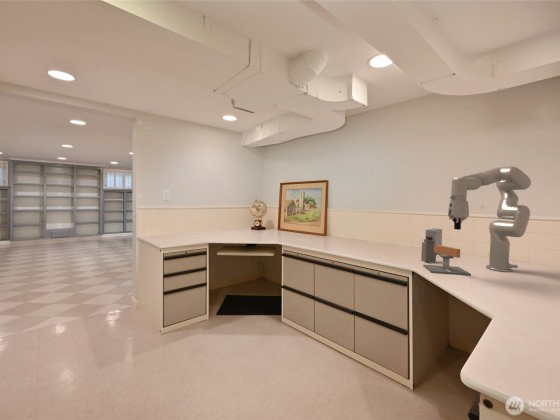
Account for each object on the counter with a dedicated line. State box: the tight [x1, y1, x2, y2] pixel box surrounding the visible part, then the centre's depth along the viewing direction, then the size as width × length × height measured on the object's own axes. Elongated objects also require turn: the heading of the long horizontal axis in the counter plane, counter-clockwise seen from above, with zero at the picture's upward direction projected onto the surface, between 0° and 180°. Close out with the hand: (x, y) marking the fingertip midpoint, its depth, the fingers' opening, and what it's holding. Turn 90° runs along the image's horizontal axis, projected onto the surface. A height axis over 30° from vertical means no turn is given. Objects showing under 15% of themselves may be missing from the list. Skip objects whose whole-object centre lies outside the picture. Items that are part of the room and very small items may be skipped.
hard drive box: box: [424, 227, 443, 255], centre depth 214 cm, size 16×8×20 cm, turn 130°
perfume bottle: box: [420, 236, 437, 264], centre depth 184 cm, size 7×7×18 cm
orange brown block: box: [434, 244, 461, 259], centre depth 161 cm, size 16×6×7 cm, turn 17°
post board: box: [422, 258, 472, 276], centre depth 162 cm, size 21×16×8 cm
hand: (457, 229), depth 153 cm, fingers closed
